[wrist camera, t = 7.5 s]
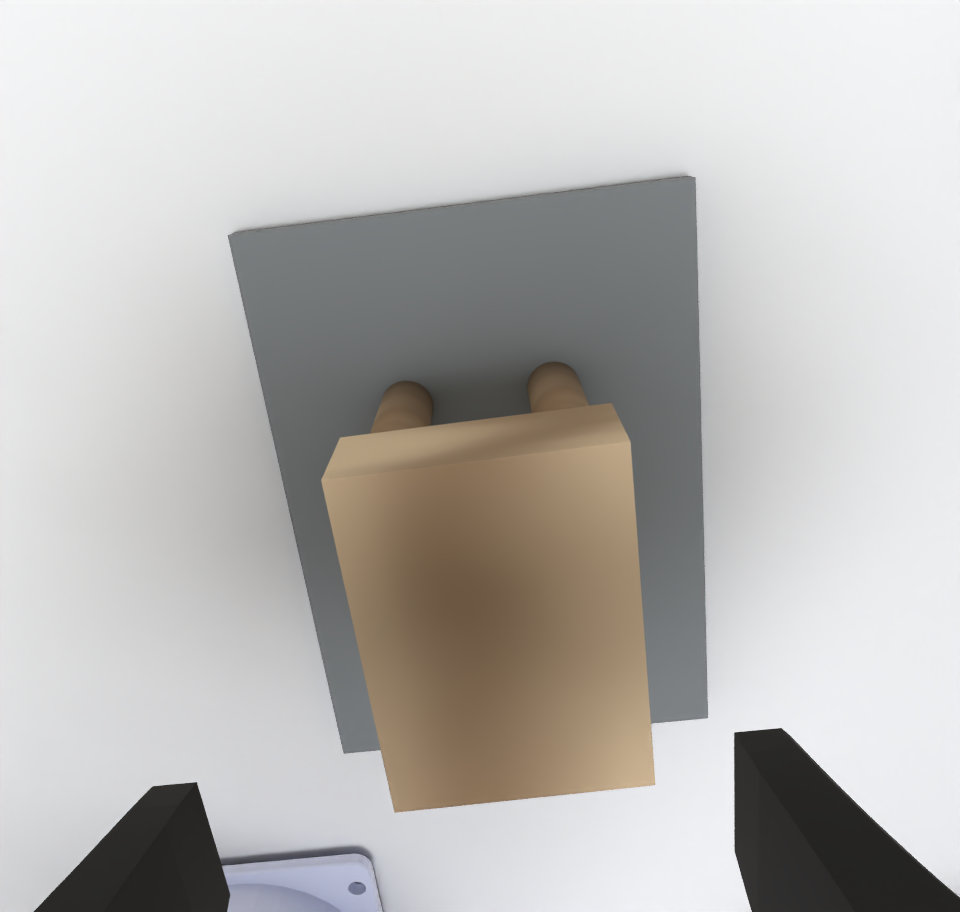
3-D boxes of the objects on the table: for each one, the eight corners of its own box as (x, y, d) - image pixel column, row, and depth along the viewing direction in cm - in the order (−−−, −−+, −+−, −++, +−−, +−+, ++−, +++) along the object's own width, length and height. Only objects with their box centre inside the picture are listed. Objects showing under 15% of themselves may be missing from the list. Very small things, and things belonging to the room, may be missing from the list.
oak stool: (585, 348, 19) (630, 441, 13) (608, 613, 21) (655, 785, 16) (367, 376, 19) (321, 480, 13) (416, 635, 22) (394, 812, 16)
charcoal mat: (702, 703, 23) (707, 717, 23) (346, 738, 24) (344, 753, 23) (688, 176, 18) (695, 177, 17) (235, 232, 18) (227, 235, 18)
